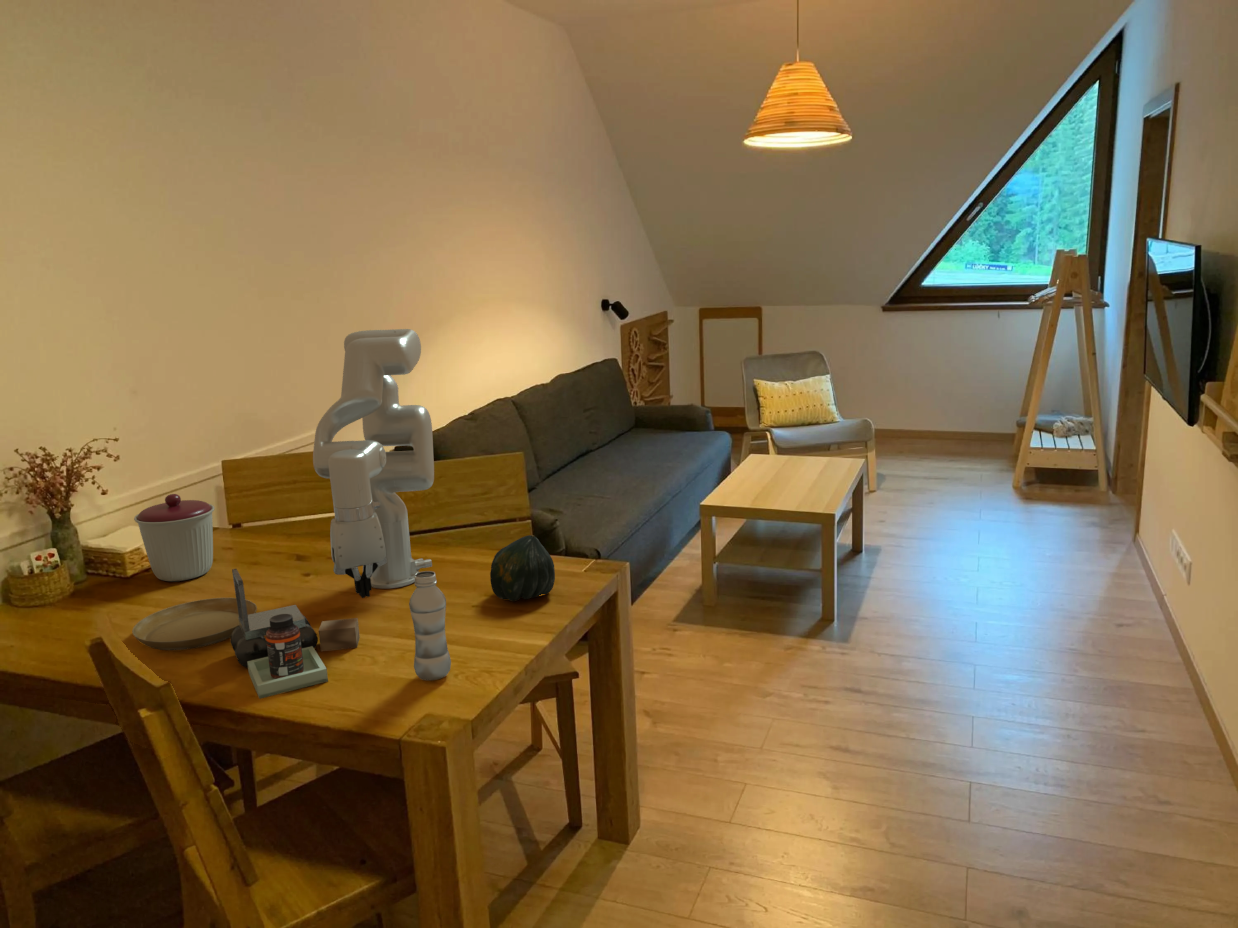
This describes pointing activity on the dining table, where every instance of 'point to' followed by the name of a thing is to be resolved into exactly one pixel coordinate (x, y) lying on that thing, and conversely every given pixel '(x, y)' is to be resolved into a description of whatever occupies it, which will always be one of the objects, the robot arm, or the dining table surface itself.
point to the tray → (270, 686)
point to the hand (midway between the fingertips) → (364, 594)
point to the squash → (522, 570)
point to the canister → (178, 538)
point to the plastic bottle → (429, 628)
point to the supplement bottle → (284, 647)
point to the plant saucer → (191, 624)
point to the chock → (339, 634)
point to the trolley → (262, 627)
